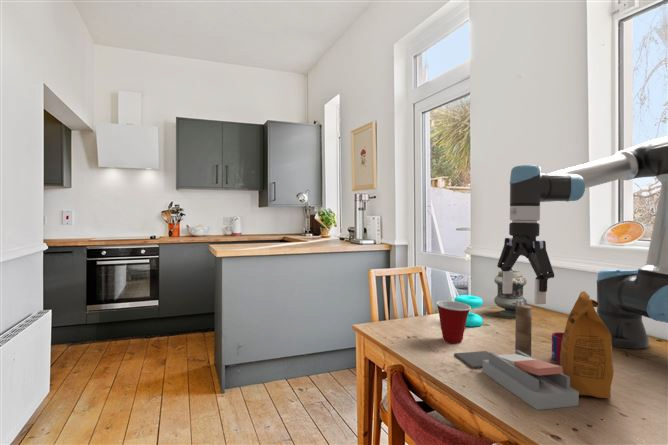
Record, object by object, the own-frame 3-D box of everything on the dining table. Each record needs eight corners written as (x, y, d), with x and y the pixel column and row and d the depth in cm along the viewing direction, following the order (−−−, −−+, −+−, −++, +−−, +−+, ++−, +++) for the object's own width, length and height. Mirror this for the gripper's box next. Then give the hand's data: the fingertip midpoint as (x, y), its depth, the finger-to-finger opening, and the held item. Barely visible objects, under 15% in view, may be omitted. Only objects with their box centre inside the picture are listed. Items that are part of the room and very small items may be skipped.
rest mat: (485, 353, 113) (485, 351, 113) (507, 366, 103) (507, 363, 103) (454, 355, 111) (454, 353, 111) (473, 368, 101) (473, 366, 101)
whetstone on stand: (517, 368, 101) (517, 347, 101) (578, 405, 81) (578, 379, 81) (482, 371, 99) (482, 350, 99) (536, 410, 80) (537, 383, 80)
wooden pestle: (524, 357, 109) (525, 304, 109) (534, 362, 105) (535, 308, 105) (512, 358, 109) (512, 305, 108) (521, 363, 105) (521, 308, 104)
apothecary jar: (502, 310, 164) (503, 268, 163) (532, 315, 154) (532, 271, 154) (488, 314, 156) (488, 270, 156) (518, 321, 147) (518, 274, 146)
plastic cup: (471, 348, 117) (471, 308, 117) (434, 344, 120) (434, 306, 120) (470, 337, 127) (471, 301, 127) (437, 334, 131) (437, 299, 130)
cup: (550, 354, 112) (551, 331, 112) (591, 360, 107) (592, 335, 107) (552, 362, 106) (552, 337, 106) (595, 368, 101) (596, 343, 101)
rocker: (494, 360, 97) (493, 355, 98) (515, 359, 99) (515, 353, 99) (538, 375, 82) (537, 368, 82) (563, 373, 83) (562, 366, 83)
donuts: (486, 300, 138) (458, 300, 138) (486, 327, 138) (458, 327, 138) (477, 294, 148) (451, 294, 148) (477, 320, 148) (451, 320, 148)
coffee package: (605, 382, 93) (606, 291, 92) (616, 405, 82) (617, 302, 81) (557, 374, 97) (558, 288, 97) (562, 395, 86) (563, 297, 86)
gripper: (486, 221, 118) (484, 289, 118) (544, 222, 93) (543, 309, 94) (508, 221, 119) (506, 289, 120) (571, 222, 95) (569, 308, 95)
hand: (522, 298), depth 107 cm, fingers open, 13 cm apart
